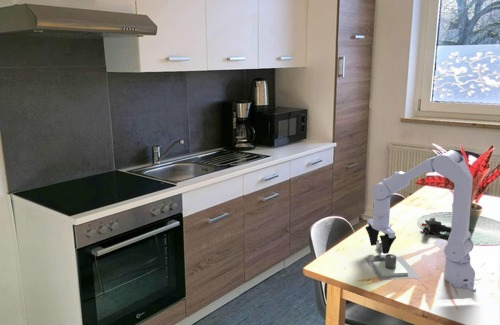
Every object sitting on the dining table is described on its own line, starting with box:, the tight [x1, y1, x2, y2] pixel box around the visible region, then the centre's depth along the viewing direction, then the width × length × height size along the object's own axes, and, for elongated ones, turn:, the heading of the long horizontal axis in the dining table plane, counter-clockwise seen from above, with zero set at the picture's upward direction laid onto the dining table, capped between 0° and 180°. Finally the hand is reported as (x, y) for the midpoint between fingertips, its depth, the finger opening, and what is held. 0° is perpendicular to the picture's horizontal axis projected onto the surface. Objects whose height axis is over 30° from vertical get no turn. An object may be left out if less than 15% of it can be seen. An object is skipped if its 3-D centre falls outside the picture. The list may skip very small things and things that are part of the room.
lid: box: [373, 253, 408, 277], centre depth 152 cm, size 9×9×5 cm
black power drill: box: [421, 217, 451, 236], centre depth 186 cm, size 5×20×15 cm
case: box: [364, 254, 422, 281], centre depth 154 cm, size 16×14×2 cm
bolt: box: [374, 239, 387, 258], centre depth 161 cm, size 6×2×4 cm, turn 4°
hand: (379, 249), depth 162 cm, fingers open, 7 cm apart
